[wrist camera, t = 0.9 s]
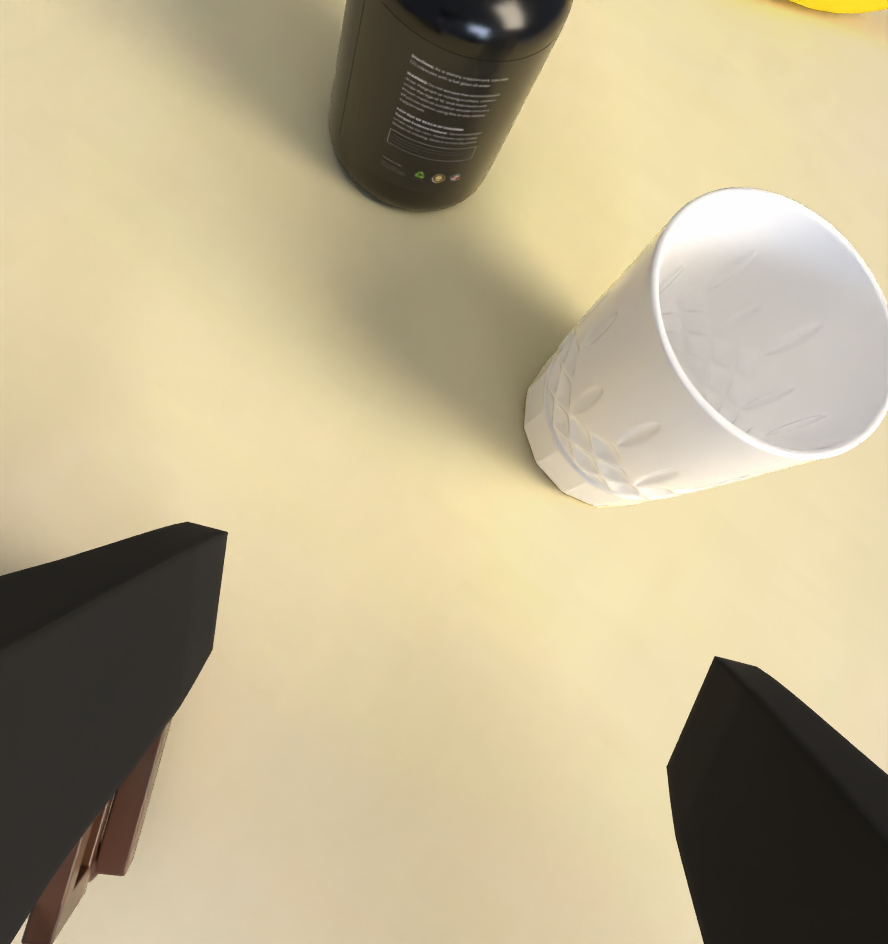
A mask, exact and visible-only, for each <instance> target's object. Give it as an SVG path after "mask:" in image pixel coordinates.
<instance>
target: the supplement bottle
mask: <svg viewBox="0 0 888 944" xmlns="http://www.w3.org/2000/svg"><path fill="white" fill-rule="evenodd" d="M572 3H573V0H346V5H345V12H344V18H343V24H342V31H341V37H340V44H339V50H338V56H337V63H336V69H335V76H334V82H333V88H332V96H331V104H330V112H329V130H330V136H331V140H332V144H333V147H334V150H335V152H336V154H337V156H338V158H339V160H340V162H341V164H342V165H343V167H344V168H345V170H346V171H347V172H348V174H349V175H350V176H351V177H352V178H353V179H354V180H355V181H356V182H357V183H358V184H359V185H360V186H361V187H362V188H363V189H365V190H366V191H367V192H369V193H370V194H371V195H373V196H375V197H376V198H378V199H380V200H382V201H384V202H386V203H388V204H391V205H393V206H396V207H399V208H403V209H408V210H414V211H435V210H441V209H445V208H448V207H451V206H454V205H456V204H458V203H460V202H462V201H463V200H465V199H467V198H468V197H469V196H470V195H471V194H473V193H474V192H475V191H476V190H477V189H478V187H479V186H480V185H481V183H482V182H483V180H484V178H485V177H486V175H487V173H488V171H489V170H490V168H491V166H492V164H493V162H494V160H495V159H496V157H497V155H498V153H499V151H500V149H501V147H502V145H503V143H504V141H505V139H506V137H507V135H508V133H509V131H510V129H511V127H512V126H513V124H514V122H515V120H516V118H517V116H518V114H519V112H520V110H521V108H522V106H523V104H524V102H525V100H526V98H527V96H528V94H529V93H530V91H531V89H532V87H533V85H534V83H535V81H536V79H537V77H538V75H539V73H540V71H541V69H542V67H543V65H544V63H545V61H546V60H547V58H548V56H549V54H550V52H551V50H552V48H553V46H554V44H555V42H556V40H557V38H558V36H559V34H560V32H561V30H562V28H563V26H564V24H565V22H566V19H567V17H568V14H569V12H570V10H571V6H572Z"/></svg>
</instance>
